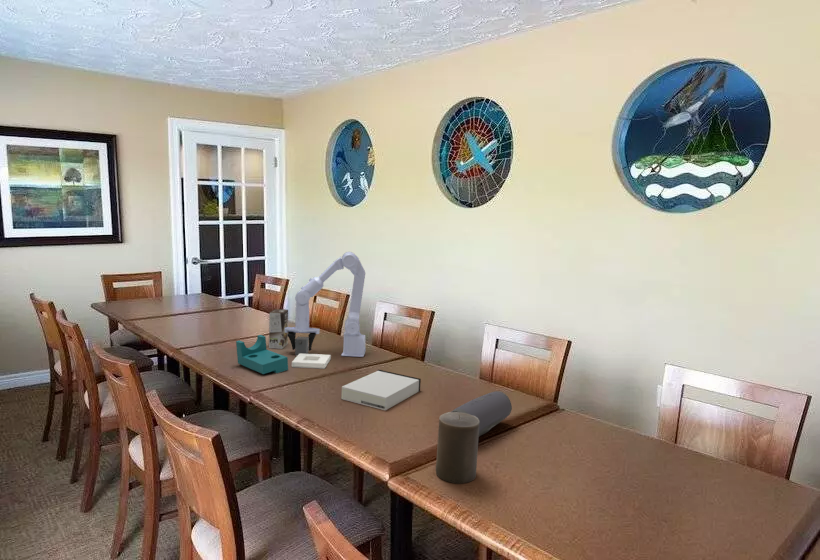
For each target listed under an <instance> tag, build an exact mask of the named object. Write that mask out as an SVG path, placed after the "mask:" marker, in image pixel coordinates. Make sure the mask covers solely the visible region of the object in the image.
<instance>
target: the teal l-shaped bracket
mask: <svg viewBox="0 0 820 560" xmlns="http://www.w3.org/2000/svg"><path fill="white" fill-rule="evenodd" d="M266 339H267V338H266V336H265V335H262V334H259V335H257V337H256V341H255V343H254V344H253V345H251V346H250V347H247V346H246V345H245V342H244V341H242V340H236V341H235V344H236V346H235V347H236V354H237V355H236V357H237V364H238V365H241V366H243V367H245V368H247V369H250V370H252V371H255V372H256V373H257V372H258V373H260V374H262V375H265V374H268V373H271V372H272V373H275V374H279V373H282V372H286V371H289V360H288V359H289V358H288V356H285V355H283V354H280V353H277V352H275V351H271V350H270V349H267V340H266Z"/></svg>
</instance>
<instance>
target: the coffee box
mask: <svg viewBox="0 0 820 560" xmlns="http://www.w3.org/2000/svg"><path fill="white" fill-rule="evenodd" d="M268 318H269V322H268V325H269V326H268V327H269V328H268V330H269V333H268V335H269V336H268V338H269V339H268V348H269V349H279V350H281V349H282V350H283V349H284V348H285V347H286V346H287V345H288V344H289V343H288V341H289V337H288V332H287V333H285V328H286V327H289V309H285V308H283V309H281V308H280V309H279V308H277V309H273V310H271V311H270V312H269V317H268Z"/></svg>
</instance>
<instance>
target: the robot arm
mask: <svg viewBox="0 0 820 560" xmlns="http://www.w3.org/2000/svg"><path fill="white" fill-rule="evenodd" d="M344 268H345V269H347V270H348V271H350V273H351V274H352V275H353V276H354V277H353V283H352V289H351V290H352V291H351V298H350V304H349V309H348V310H349V311H348V316H347V318H346V319H345V321H344V332H343V352H342V353H341V354H340V356H341V357H360V358H363V357H364V356H365V354H366V335H365V334H362V333H361V331H360V330H361V326H360V312H361V306H362V299H363V294H364V293H363V292H364V286H365V285H364V284H365V279H366V271H365V268H364V266H363V265H362V262H361V260H360V258H359V257H358V256H357V255H356V254H355V253H354V252H352V251H345V252H344V253H343V254H342V255H341V256H339V257H338V258H336V259H335V260H334V261H333V262H332V263H331V264H330V265H329V266H328V267H327V268H326V269H325V270H324V271H323V272H322V273H321V274H320V275H319V276H314V277H313V276H312V277H310V278H309V279H308V282H307V283H306V284H305V285H304V286H301V287H300V290H299V291H297V293H296V294H295V297H294V300H295V316H294V317H295V318H294V320H295V326H291V327H290V326H288V327H286V328H285V333H287V332H288V340H289V342H290V345H291V347H292V348H291V349H292V350H293V351H295V339H296V338H297V337H296V335H297V334H298V333H299V334H308V335H307V337H309V341H308V351H311V350H312V346H313V342H314V340H315V338H316V336H317V335H320V332H321V331H320V328H314V327H310V300H311V298H313V297H314V296H315V295H316V294H318V292H319V291H320V290H322V289H323V288H324V283H325V282H326V281H327V280H328V279H329V278H330V277H332V275H333V274H335V273H336V272H337V271H340V270H344Z"/></svg>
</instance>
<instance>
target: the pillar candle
mask: <svg viewBox="0 0 820 560" xmlns="http://www.w3.org/2000/svg"><path fill="white" fill-rule="evenodd" d="M438 418H439V420H438V432H437V448H436V462H435V473H436V476H437V477H438V478H439V479H440V480H442V481H445V482H448V483H452V484H457V485H458V484H468V483H470V482H472V481H474V480H475V479H476V477H477V467H478V465H477V464H478V449H479V448H478V447H479V437H480V436H479V423H480V422H479V419H478V418H477V417H476V416H473V415H470V414H466V413H459V412H451V411H449V412H445V413H442V414H440V415H439V417H438Z"/></svg>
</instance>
